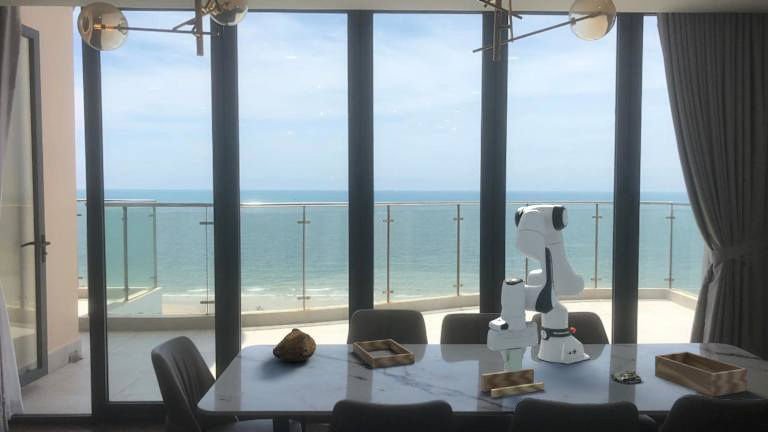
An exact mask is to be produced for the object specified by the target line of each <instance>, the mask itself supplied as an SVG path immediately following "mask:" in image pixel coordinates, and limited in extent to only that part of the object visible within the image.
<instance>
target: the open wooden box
mask: <svg viewBox="0 0 768 432" xmlns="http://www.w3.org/2000/svg"><path fill="white" fill-rule="evenodd" d="M654 376H655V377H658V378H660V379H664V380H666V381H668V382H671V383H674V384H677V385H680V386H683V387H685V388H689V389H691V390H693V391H697V392H700V393H702V394H705V395H707V396H709V397H721V396H725V395H729V394H730V395H731V394H736V393H742V392H747V391H748V368H745V367H742V366H738V365H734V364H731V363H727V362H724V361H722V360H717V359H714V358H711V357H708V356H705V355H699V354H697V353H693V352H690V351H681V352H672V353H667V354H666V353H665V354H659V355H658V354H657V355H655V356H654Z"/></svg>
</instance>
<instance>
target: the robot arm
mask: <svg viewBox="0 0 768 432" xmlns="http://www.w3.org/2000/svg"><path fill="white" fill-rule="evenodd" d="M568 223H569V213H568V210H567V209H566V207H565V206H564V205H561V204H560V205H559V204H554V205H553V204H540V205H531V206H525V205H524V206H521V207H519V208H518V209H516V210H515V213H514V224H515V226H516V228H517V230H516V234H515V247H516V250H517V252H518V253H519V254H520V255H522V256H523V257H524V258H526V259H528V260H531V261H533V262H535V263H537V264H539V265H540V269H533V270H531V271H530V272H529V273H528V276H527V279H526V284H525V280H524V279H523V278H520V277H507V278H506V279H504V280H503V283H502V287H501V296H500V298H501V299H500V303H501V312H500V316H499V317H497V318H495V319H494V320H491V321H489V323H488V327H489V329H488V333H487V338H486V339H487V342H486V343H487V344H486V345H487V348H488V349H489V350H491V351H494V352H495V351H499V352H500V355H502V361H503V362H504V361H509V356H507V355H506V354H505V352H506V349H513V348H521V349H522V360H524V356H525V354H526V351H527V348H529V347H537V346H538V344H539V333H538V324H537V322H536V321H534V320H530V321H528V320H526V319H527V318H526V317H527V316H526V312H536V313H539V314H541V325H540V338H541V339H540V346H539V351H538V354H537V358H538V359H540V360H542V361H545V362H550V363H559V364H573V363H577V362H581V361H582V362H583V361H585V360H590V356H589V354H587V353H585V351H584V346H583V344H582V342H581V341H579V340H578V339H577V338H576V337H575V336H573V335H572V333H573V334H575V333H576V331H577V329H576V328H575V327H569V312H568V309H567V307H566V306H565V305H564V304H562V303H561V302H560V301H559V299H558V297H564V298H574V297H579V296H580V295H581V294H582V293H583V292H584V289H585V280H584V278H583V276H582V275H581V274H580V273H578V272H577V271H576V270H575V269H574V268H573V267H572V266H571V264H570V261H569V260H568V257H567V254H566V250H565V242H564V235H563V230H564V229H565V228H566V227H567V226H568Z"/></svg>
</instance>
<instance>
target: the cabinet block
mask: <svg viewBox="0 0 768 432" xmlns="http://www.w3.org/2000/svg"><path fill="white" fill-rule="evenodd" d="M505 354H506V355H507V356H509V361H503V362H504V364H503V365H504V367H503V369H504V370H506V371H510V372H514V371H521V370H522V369H523V359H522V349H521V348H513V349H506V352H505Z"/></svg>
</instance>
